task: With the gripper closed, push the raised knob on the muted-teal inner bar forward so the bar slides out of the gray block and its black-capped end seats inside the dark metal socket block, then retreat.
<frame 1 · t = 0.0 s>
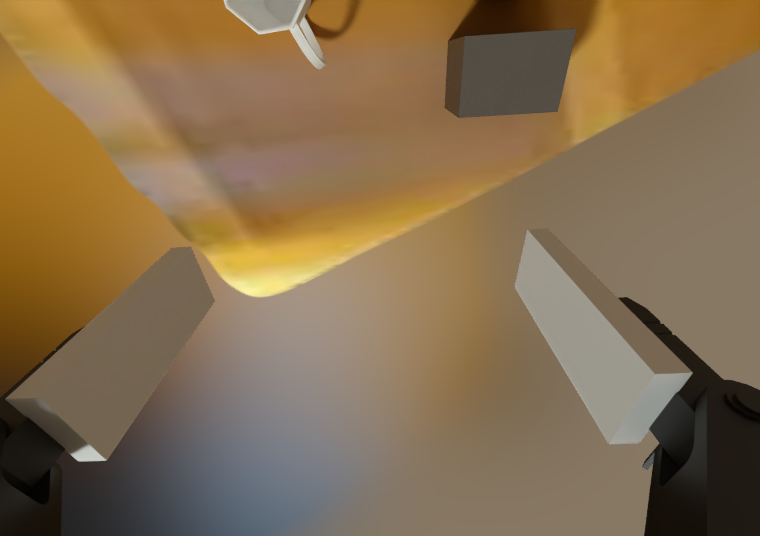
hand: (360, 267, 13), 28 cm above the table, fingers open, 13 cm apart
cup: (298, 13, 30), on the table
socket: (489, 73, 33), on the table
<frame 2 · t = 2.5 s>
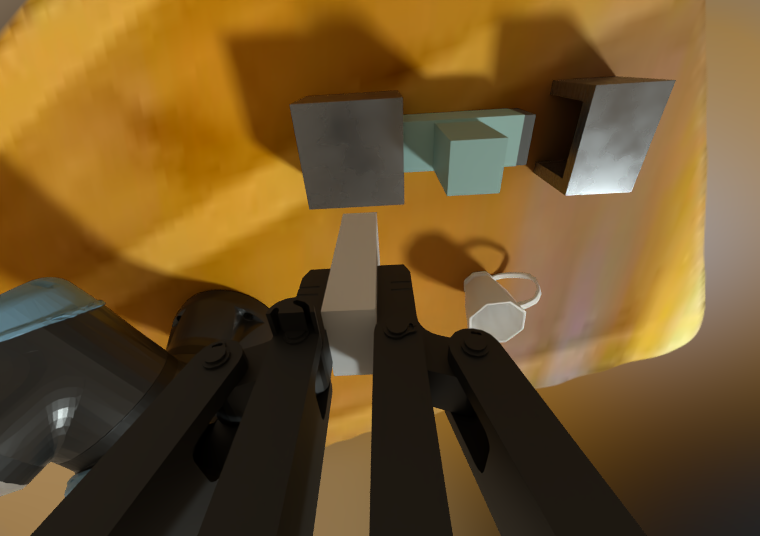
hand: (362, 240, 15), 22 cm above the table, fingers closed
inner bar: (419, 151, 28), point 6 cm above the table, slide at 0.0 cm
cup: (488, 278, 43), on the table
gray block: (356, 141, 33), on the table
socket: (571, 128, 33), on the table
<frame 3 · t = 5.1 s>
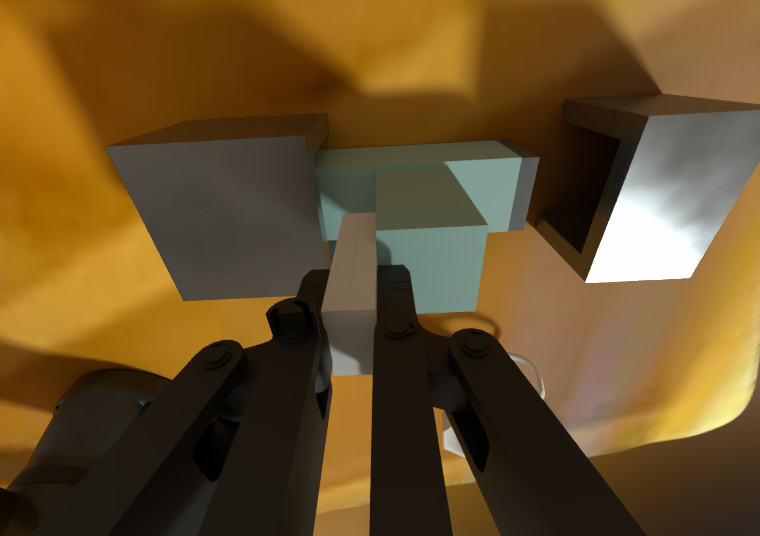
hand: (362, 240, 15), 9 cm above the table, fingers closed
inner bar: (350, 215, 17), point 6 cm above the table, slide at 0.0 cm, touching gripper
cup: (473, 354, 33), on the table
gray block: (272, 185, 22), on the table
socket: (591, 168, 22), on the table
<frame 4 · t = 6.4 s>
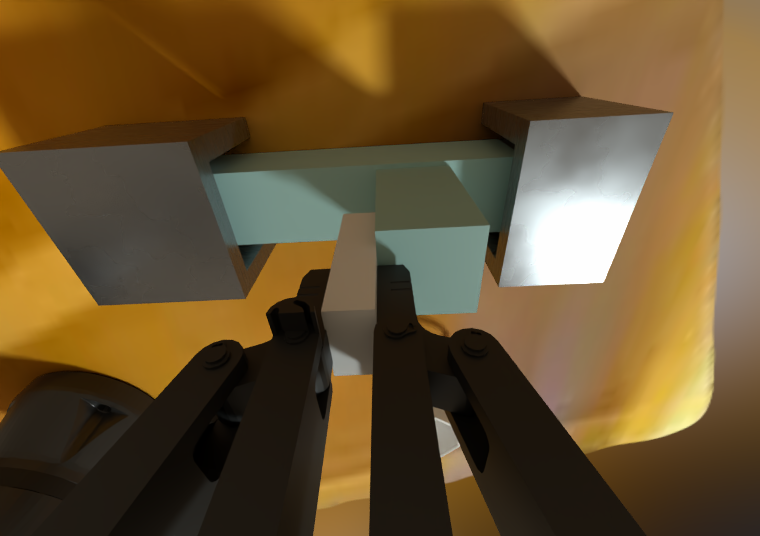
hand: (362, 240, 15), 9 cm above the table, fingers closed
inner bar: (350, 215, 17), point 6 cm above the table, slide at 5.2 cm, touching gripper
cup: (425, 357, 33), on the table
gray block: (200, 189, 22), on the table
socket: (518, 171, 22), on the table
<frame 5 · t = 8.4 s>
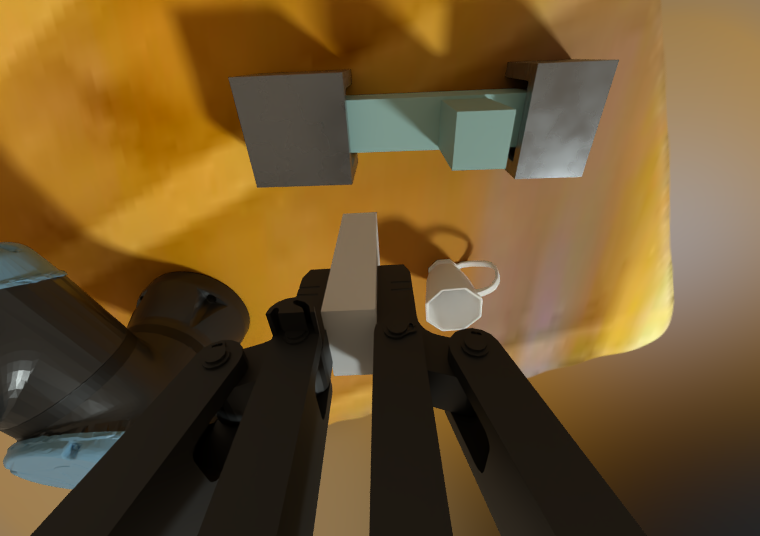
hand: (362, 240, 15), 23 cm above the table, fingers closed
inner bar: (424, 127, 28), point 6 cm above the table, slide at 5.2 cm
cup: (453, 266, 43), on the table
gray block: (311, 121, 33), on the table
socket: (529, 112, 32), on the table
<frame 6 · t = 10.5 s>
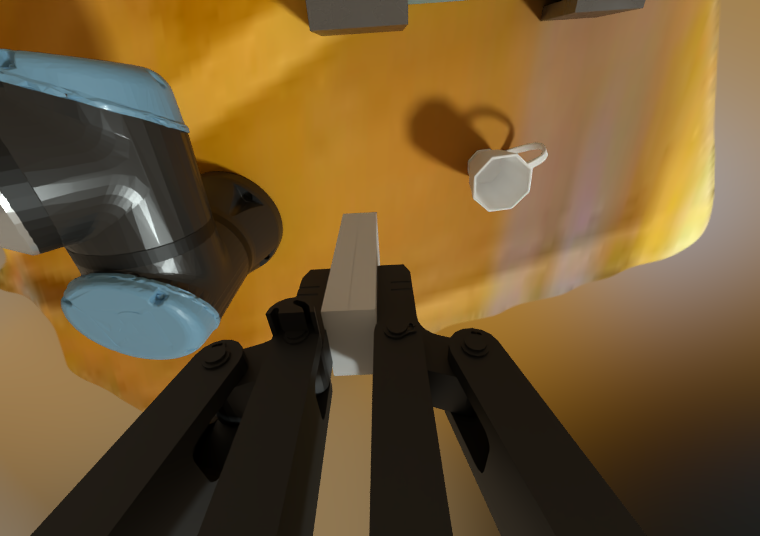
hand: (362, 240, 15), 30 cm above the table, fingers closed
cup: (492, 158, 43), on the table
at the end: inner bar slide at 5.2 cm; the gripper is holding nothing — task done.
